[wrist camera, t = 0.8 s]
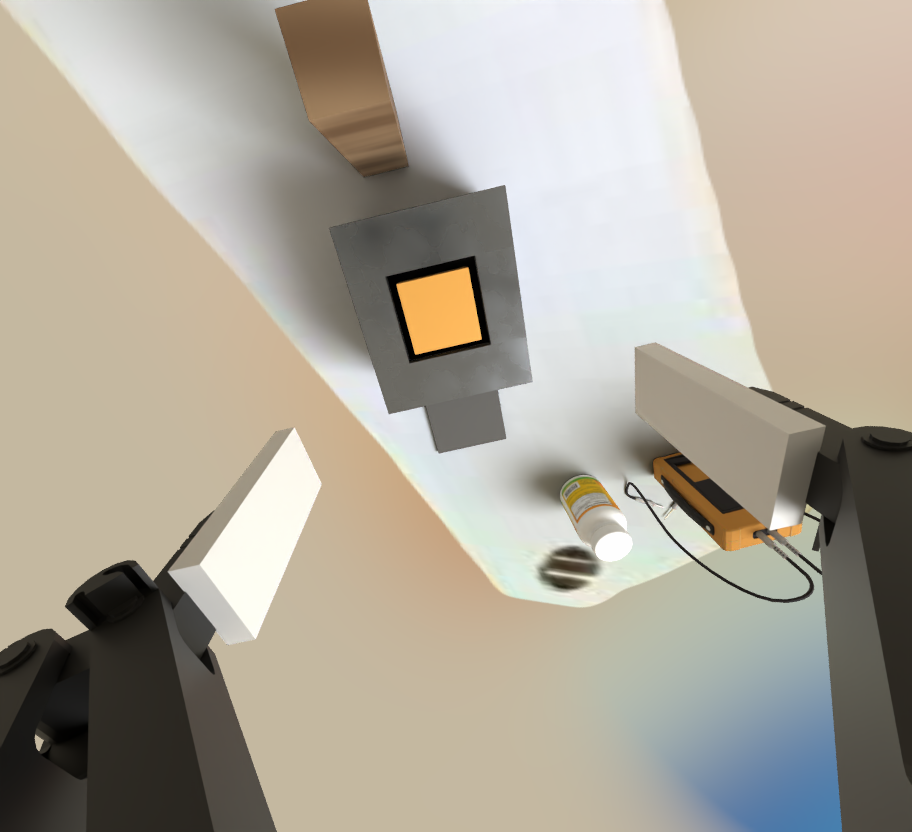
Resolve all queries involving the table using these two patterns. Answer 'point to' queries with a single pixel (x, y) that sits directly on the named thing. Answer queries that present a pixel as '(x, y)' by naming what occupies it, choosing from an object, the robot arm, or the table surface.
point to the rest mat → (467, 421)
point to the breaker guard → (425, 244)
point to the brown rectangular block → (344, 81)
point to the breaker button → (440, 310)
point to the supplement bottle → (596, 517)
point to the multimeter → (718, 514)
